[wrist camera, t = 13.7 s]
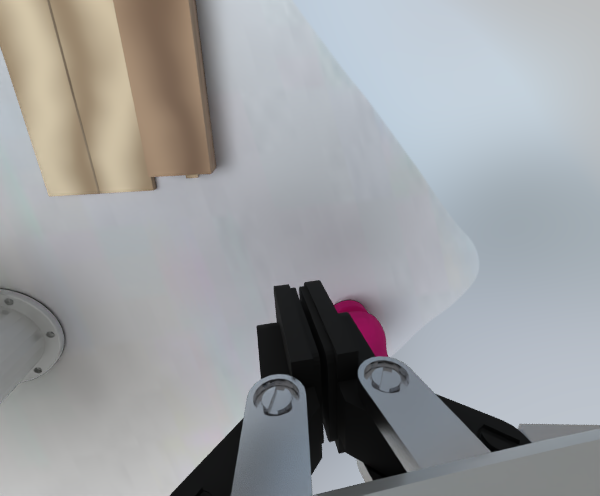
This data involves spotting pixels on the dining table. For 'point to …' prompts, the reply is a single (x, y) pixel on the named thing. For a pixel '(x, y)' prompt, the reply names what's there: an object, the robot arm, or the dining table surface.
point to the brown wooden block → (167, 84)
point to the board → (75, 95)
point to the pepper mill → (365, 325)
